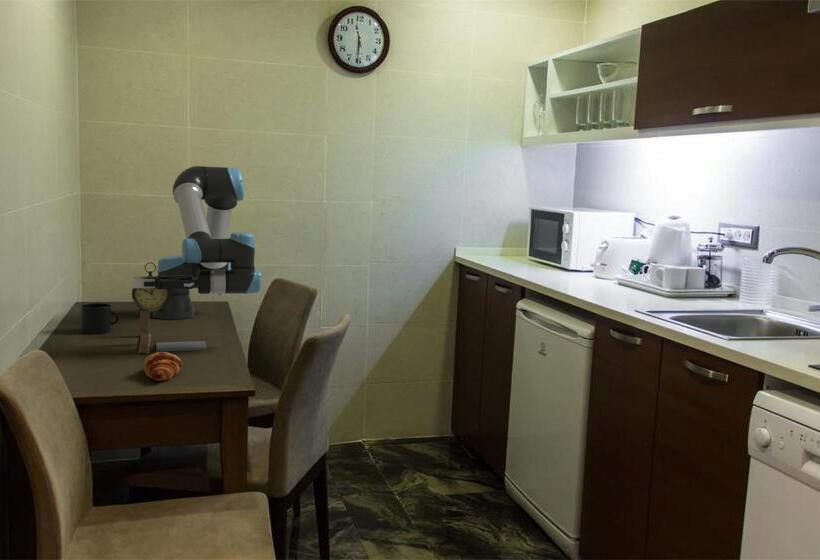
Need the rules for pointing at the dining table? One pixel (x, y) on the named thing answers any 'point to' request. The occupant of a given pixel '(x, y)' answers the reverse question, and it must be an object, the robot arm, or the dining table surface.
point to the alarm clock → (150, 296)
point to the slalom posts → (144, 332)
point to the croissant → (162, 366)
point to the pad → (181, 346)
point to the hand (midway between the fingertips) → (133, 282)
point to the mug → (97, 318)
